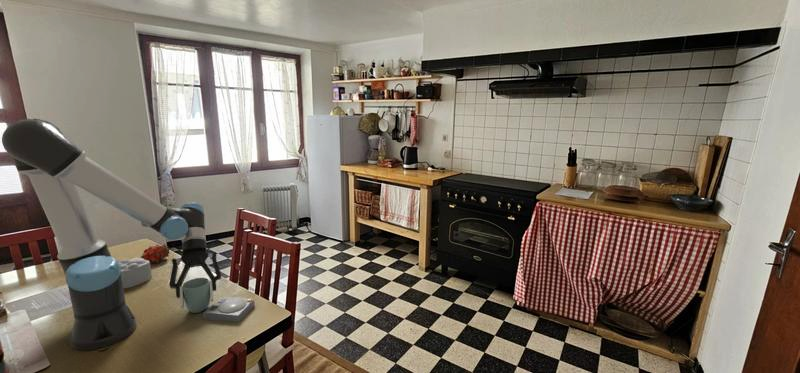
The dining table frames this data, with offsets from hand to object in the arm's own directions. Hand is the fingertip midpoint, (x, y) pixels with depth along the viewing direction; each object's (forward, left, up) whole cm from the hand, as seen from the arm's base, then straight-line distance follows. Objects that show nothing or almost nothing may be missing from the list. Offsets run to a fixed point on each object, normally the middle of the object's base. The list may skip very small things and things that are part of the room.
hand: (197, 303), depth 113 cm
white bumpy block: (+17, +42, -5) cm, 45 cm away
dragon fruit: (+35, +46, -4) cm, 58 cm away
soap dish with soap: (+3, -10, -4) cm, 11 cm away
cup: (+3, +2, -4) cm, 6 cm away
